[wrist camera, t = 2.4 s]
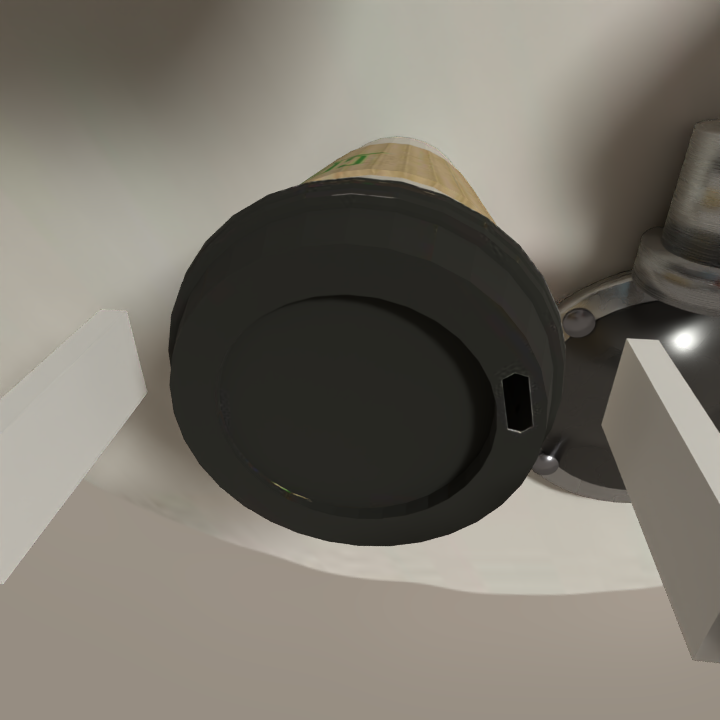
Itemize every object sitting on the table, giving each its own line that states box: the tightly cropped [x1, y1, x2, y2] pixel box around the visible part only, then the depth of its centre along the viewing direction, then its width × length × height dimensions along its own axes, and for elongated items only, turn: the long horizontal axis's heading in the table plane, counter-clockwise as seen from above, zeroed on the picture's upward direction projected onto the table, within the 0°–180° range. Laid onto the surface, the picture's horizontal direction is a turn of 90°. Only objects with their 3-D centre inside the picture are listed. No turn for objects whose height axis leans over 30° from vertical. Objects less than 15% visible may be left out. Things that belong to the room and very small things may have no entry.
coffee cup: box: [168, 137, 566, 546], centre depth 19 cm, size 10×10×15 cm
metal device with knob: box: [532, 119, 720, 503], centre depth 24 cm, size 20×14×9 cm
